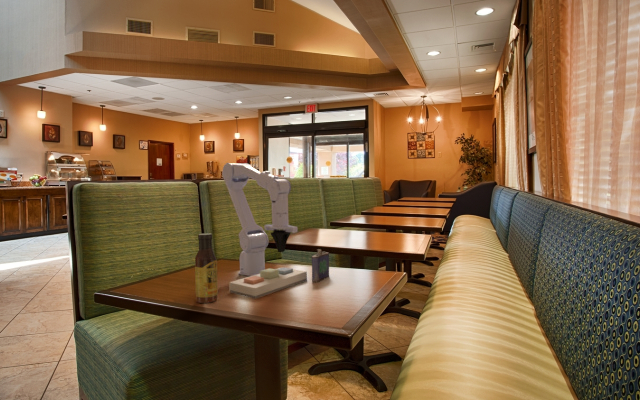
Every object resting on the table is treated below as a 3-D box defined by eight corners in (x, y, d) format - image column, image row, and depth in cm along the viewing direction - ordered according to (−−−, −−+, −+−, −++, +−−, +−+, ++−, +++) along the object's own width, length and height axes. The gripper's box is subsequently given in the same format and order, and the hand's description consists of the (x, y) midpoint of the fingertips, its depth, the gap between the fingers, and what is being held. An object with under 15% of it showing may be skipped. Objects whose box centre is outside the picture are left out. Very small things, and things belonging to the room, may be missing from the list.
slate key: (275, 277, 128) (275, 269, 128) (284, 275, 131) (283, 267, 131) (284, 279, 125) (284, 271, 125) (293, 276, 128) (293, 268, 128)
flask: (316, 282, 125) (315, 251, 125) (309, 281, 127) (308, 251, 126) (331, 276, 133) (330, 247, 132) (324, 275, 134) (323, 246, 134)
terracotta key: (244, 287, 117) (243, 278, 116) (254, 284, 120) (254, 275, 120) (253, 289, 114) (253, 280, 114) (263, 286, 117) (263, 277, 117)
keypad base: (229, 292, 117) (229, 282, 117) (281, 276, 136) (281, 267, 136) (255, 298, 109) (254, 288, 109) (306, 280, 128) (306, 271, 128)
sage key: (260, 279, 122) (260, 271, 122) (269, 276, 126) (269, 268, 125) (269, 281, 119) (269, 272, 119) (279, 278, 123) (278, 269, 123)
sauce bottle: (211, 304, 105) (208, 235, 104) (191, 303, 107) (188, 235, 106) (222, 297, 112) (219, 232, 111) (203, 296, 113) (200, 232, 112)
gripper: (257, 213, 131) (258, 251, 131) (286, 215, 121) (288, 255, 122) (272, 212, 136) (273, 248, 137) (301, 213, 127) (302, 252, 128)
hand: (281, 251), depth 130 cm, fingers closed
